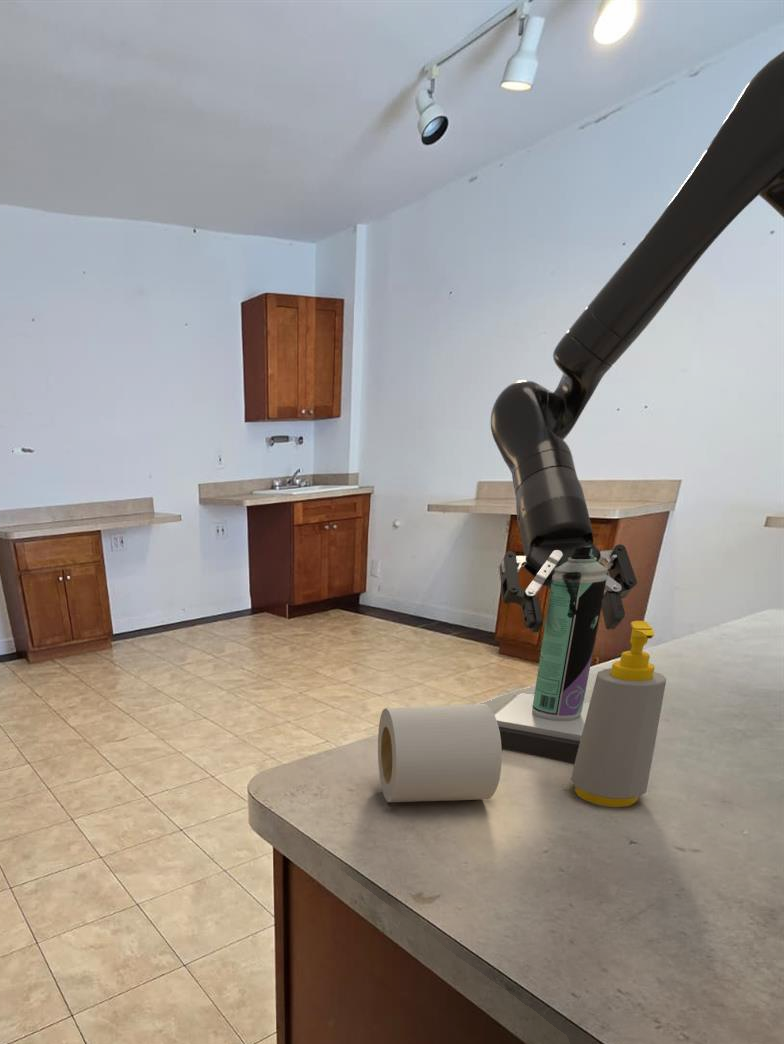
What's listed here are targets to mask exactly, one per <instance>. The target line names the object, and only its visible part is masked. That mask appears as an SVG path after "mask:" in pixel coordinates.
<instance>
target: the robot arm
mask: <svg viewBox="0 0 784 1044" xmlns="http://www.w3.org/2000/svg"><path fill="white" fill-rule="evenodd" d="M700 157H701V158H700V159H699V161H698V162H697V163H696V165H695V167H694V168H693V170H692V171H691V173H690V174H689V175H688V177H687V178H686V180H685V181H684V183H683V184H682V185H681V187H680V188H679V190H678V191H677V192H676V194H675V195H674V196H673V198H672V199H671V201H670V202H669V204H668V205H667V206H666V208H665V209H664V210H663V212H662V214H661V215H660V216H659V217H658V219H657V220H656V221H655V222H654V224H653V225H652V226H651V228H650V229H649V230H648V231H647V233H646V234H645V236H644V237H643V238H642V239H641V240H640V242H639V243H638V244H637V245H636V247H635V248H634V249H633V250H632V252H630V254H629V255H628V256H627V258H626V259H625V260H624V261H623V263H621V265H620V266H619V267H618V269H617V270H616V271H615V272H614V274H613V275H612V276H611V277H610V278H609V279H608V281H607V282H606V283H605V285H603V287H602V288H601V289H600V290H599V292H598V293H597V294H596V295H595V297H594V298H593V299H592V300H591V302H590V303H589V304H588V305H587V306H586V308H585V309H584V310H583V311H582V312H581V314H580V315H579V316H578V318H577V319H576V320H575V321H574V322H573V324H572V325H571V326H570V328H569V329H568V330H567V331H566V333H564V335H563V336H562V337H561V339H560V340H559V342H558V343H557V344H556V346H555V348H554V350H553V352H552V359H553V362H554V364H555V366H557V368H558V369H559V371H560V372H561V373H562V376H561V378H560V381H559V382H558V384H557V386H556V388H555V390H554V391H551V390H550V389H548V388H546V387H544V386H542V385H541V384H540V383H537V382H536V381H533V380H528V379H521V380H517V381H515V382H513V383H511V384H509V385H507V386H506V387H505V388H504V389H503V390H502V391H501V392H500V393H499V394H498V396H497V398H496V399H495V402H494V403H493V406H492V409H491V413H490V430H491V435H492V438H493V440H494V443H495V445H496V447H497V449H498V451H499V453H500V455H501V457H502V459H503V461H504V463H505V464H506V465H507V467H508V469H509V471H510V473H511V478H512V484H513V489H514V494H515V500H516V501H515V502H516V503H515V504H516V505H515V506H516V507H515V508H516V509H515V511H516V521H517V524H518V528H519V533H520V538H521V544H522V549H523V554H524V555H517V553H516V552H515V551H513V550H507V551H506V552H505V554H504V556H503V558H502V560H501V562H500V564H499V567H498V569H499V579H500V589H501V599H502V602H503V603H504V604H506V605H510V604H517V605H518V606H519V607H520V610H521V614H522V620H523V625H524V627H525V629H529V632H530V633H531V634H533V633H539V632H540V630H541V628H542V627H543V625H544V619H543V613H542V608H541V603H540V598H539V596H537V595H538V594H539V592H540V591H541V590H542V588H543V587H546V588H548V589H549V590H550V589H551V583H552V576H553V575H554V573H555V572H554V570H555V568H556V567H559V566H561V565H562V564H564V563H566V562H568V558H570V557H571V556H572V555H573V554H574V551H575V548H579V547H582V546H593V548H592V549H593V551H592V554H593V555H594V556H593V557H596V558H597V559H596V562H598V563H600V564H601V565H602V566H603V567H606V568H607V572H606V575H607V580H606V585H605V590H604V596H603V601H602V606H601V613H602V616H603V620H604V625H605V628H606V630H615V629H616V628H617V627H618V626H619V625H620V624H621V622H622V621H623V620H624V618H625V615H626V612H625V607H624V605H623V604H624V603H623V599H625V598H627V596H628V595H629V593H630V592H631V591H632V589H634V588H635V587H636V585H637V584H638V580H637V576H636V575H635V571H634V569H633V565H632V563H631V560H630V557H629V554H628V551H627V547H626V546H625V545H624V544H619V543H618V544H616V545H614V548H613V549H608V550H600V549H599V548H598V547H596V545H595V543H594V531H593V528H592V523H591V518H590V514H589V510H588V506H587V502H586V497H585V493H584V489H583V486H582V484H581V482H580V480H579V478H578V475H577V470H576V466H575V462H574V458H573V455H572V451H571V449H570V447H569V445H568V443H567V442H566V441H565V439H566V438H567V437H568V436H569V434H570V433H571V431H572V430H573V429H574V427H575V425H576V423H577V422H578V421H579V419H580V417H581V415H582V413H583V411H584V409H585V408H586V406H587V405H588V403H589V401H590V400H591V398H592V397H593V395H594V393H595V391H596V389H597V388H598V386H599V384H600V383H601V381H602V379H603V377H604V376H605V375H606V373H607V372H608V371H610V369H611V368H612V367H613V365H615V363H616V362H617V361H618V360H619V359H620V358H621V357H622V356H623V355H624V354H625V352H626V351H627V350H628V349H629V348H630V347H631V346H632V344H634V342H635V341H636V340H637V339H638V338H639V336H640V335H641V334H642V333H643V332H644V331H645V329H647V327H648V326H649V325H650V324H651V322H652V321H653V320H654V318H655V317H656V316H657V314H659V312H660V311H661V310H662V308H663V307H664V306H665V305H666V303H667V302H668V300H669V299H670V298H671V296H673V294H674V292H675V291H676V290H677V288H678V287H679V286H680V284H681V283H682V282H683V280H684V279H685V278H686V276H687V275H688V274H689V273H690V271H691V270H692V269H693V267H694V266H695V265H696V263H697V262H698V261H699V260H700V258H702V256H703V255H704V254H705V252H706V251H707V250H708V249H710V247H711V245H712V244H713V243H714V242H715V241H716V240H717V239H718V237H719V236H720V235H721V234H722V233H723V232H724V231H725V230H726V228H728V226H730V224H732V222H733V221H734V220H735V219H736V218H737V217H738V216H739V215H740V214H741V213H742V212H743V211H744V210H745V209H746V208H747V207H748V206H749V205H750V204H751V203H752V202H753V201H754V200H755V199H756V198H757V197H758V196H759V197H760V198H761V199H763V201H765V202H766V203H767V204H768V205H769V206H770V207H771V208H772V209H774V210H775V211H776V212H777V213H778V214H779V215H780V216H781V217H782V218H783V219H784V50H783V51H781V52H780V53H779V54H777V55H776V56H775V57H773V58H772V59H771V60H769V61H768V62H767V63H765V65H764V66H763V67H762V68H761V69H759V71H757V73H756V74H754V76H753V77H752V78H751V80H750V81H749V82H748V83H747V85H746V86H745V88H744V89H743V91H742V92H741V94H740V95H739V97H738V99H737V101H736V102H735V104H734V106H733V108H732V109H731V110H730V112H729V114H728V115H727V116H726V119H725V120H724V121H723V123H722V125H721V126H720V127H719V129H718V131H717V133H716V134H715V135H714V137H713V139H712V140H711V142H710V143H709V145H708V146H707V149H706V150H705V151H704V152H703V154H702V156H700ZM521 568H523V569H524V570H525V571H526V572H527V573H528V574H530V575H531V576H532V577H533V579H532V581H531V582H530V583H529V585H528V586H527V587H526V588H523V587H520V580H519V579H520V578H519V572H520V571H521Z"/></svg>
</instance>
